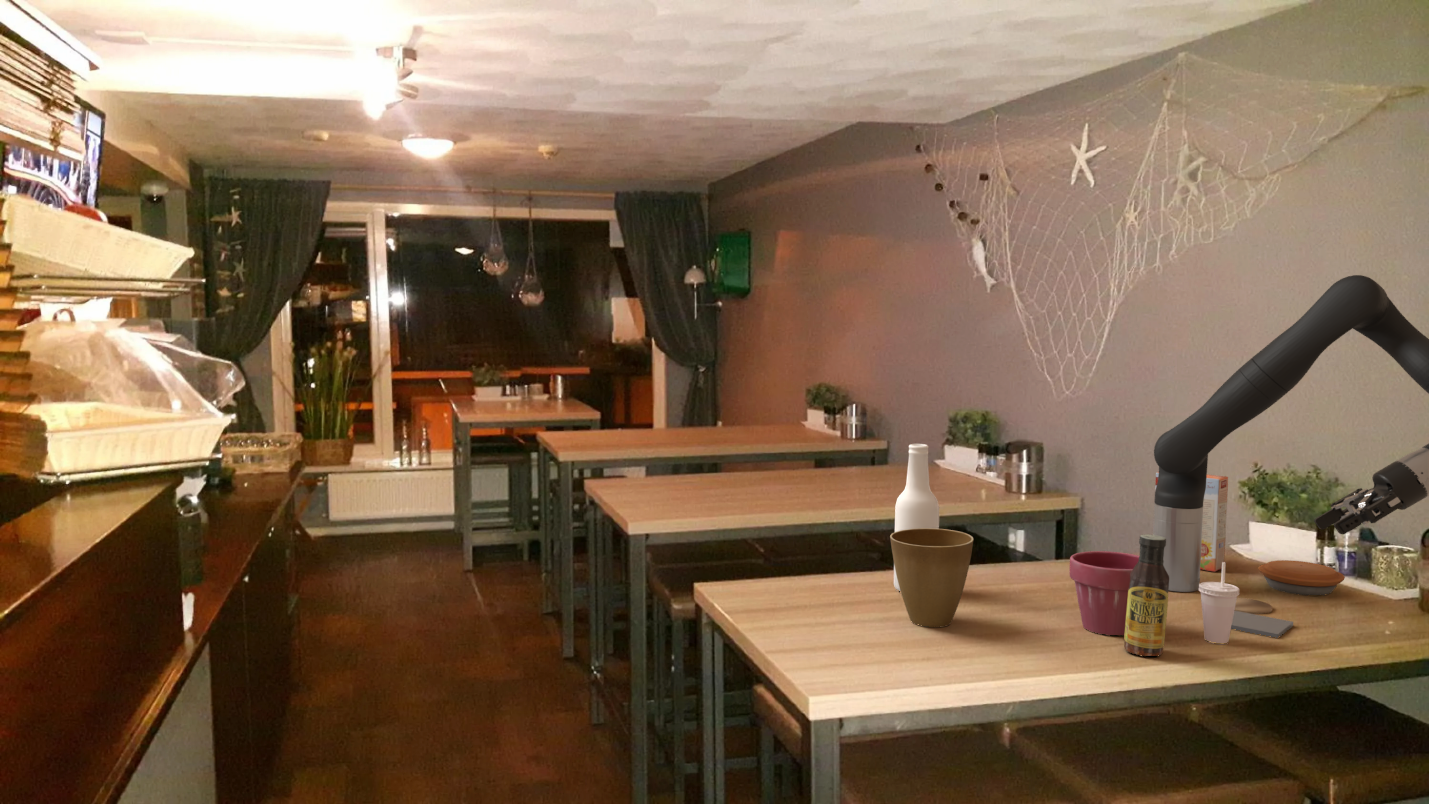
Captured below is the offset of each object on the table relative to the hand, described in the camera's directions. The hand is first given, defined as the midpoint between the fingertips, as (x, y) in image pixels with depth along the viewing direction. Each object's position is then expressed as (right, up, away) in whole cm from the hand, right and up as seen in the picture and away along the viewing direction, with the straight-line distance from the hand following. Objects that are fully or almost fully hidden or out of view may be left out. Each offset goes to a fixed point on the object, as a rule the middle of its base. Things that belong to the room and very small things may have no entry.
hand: (1327, 527), depth 180 cm
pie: (+14, -17, +33) cm, 39 cm away
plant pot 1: (-68, -19, +8) cm, 71 cm away
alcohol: (-67, -17, +30) cm, 75 cm away
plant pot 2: (-37, -19, +5) cm, 42 cm away
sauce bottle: (-36, -20, -8) cm, 42 cm away
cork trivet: (-5, -18, +19) cm, 26 cm away
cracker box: (-1, -15, +52) cm, 54 cm away
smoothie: (-20, -20, -2) cm, 28 cm away
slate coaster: (-9, -19, +7) cm, 22 cm away
